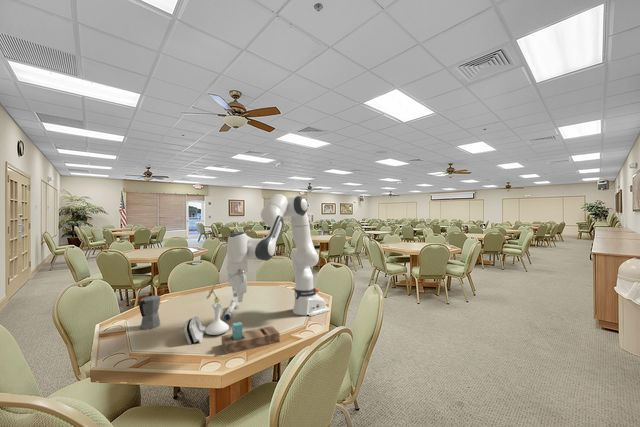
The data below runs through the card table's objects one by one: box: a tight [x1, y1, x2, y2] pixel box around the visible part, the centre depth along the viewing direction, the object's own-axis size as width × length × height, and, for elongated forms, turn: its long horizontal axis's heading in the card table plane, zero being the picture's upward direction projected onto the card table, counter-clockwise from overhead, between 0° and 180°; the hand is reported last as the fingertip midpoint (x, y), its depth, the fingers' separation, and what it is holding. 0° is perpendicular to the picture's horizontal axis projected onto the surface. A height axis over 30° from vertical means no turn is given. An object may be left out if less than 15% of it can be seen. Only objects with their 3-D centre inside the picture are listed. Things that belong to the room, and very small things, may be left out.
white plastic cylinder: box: [222, 297, 240, 321], centre depth 169 cm, size 5×7×25 cm
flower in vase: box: [205, 284, 230, 336], centre depth 139 cm, size 13×11×25 cm
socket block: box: [221, 325, 281, 355], centre depth 127 cm, size 24×10×4 cm, turn 119°
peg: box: [231, 321, 243, 341], centre depth 124 cm, size 4×4×10 cm
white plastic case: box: [183, 316, 207, 345], centre depth 134 cm, size 17×5×10 cm, turn 14°
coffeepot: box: [138, 292, 161, 330], centre depth 147 cm, size 15×9×18 cm, turn 179°
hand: (237, 299), depth 124 cm, fingers open, 8 cm apart
